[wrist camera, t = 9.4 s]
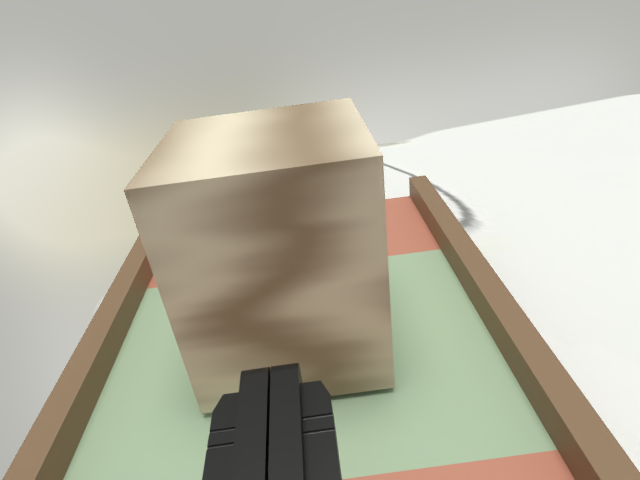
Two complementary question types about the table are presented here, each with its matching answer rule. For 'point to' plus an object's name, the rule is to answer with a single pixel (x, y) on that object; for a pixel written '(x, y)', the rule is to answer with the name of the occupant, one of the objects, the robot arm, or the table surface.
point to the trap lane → (349, 409)
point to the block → (271, 246)
